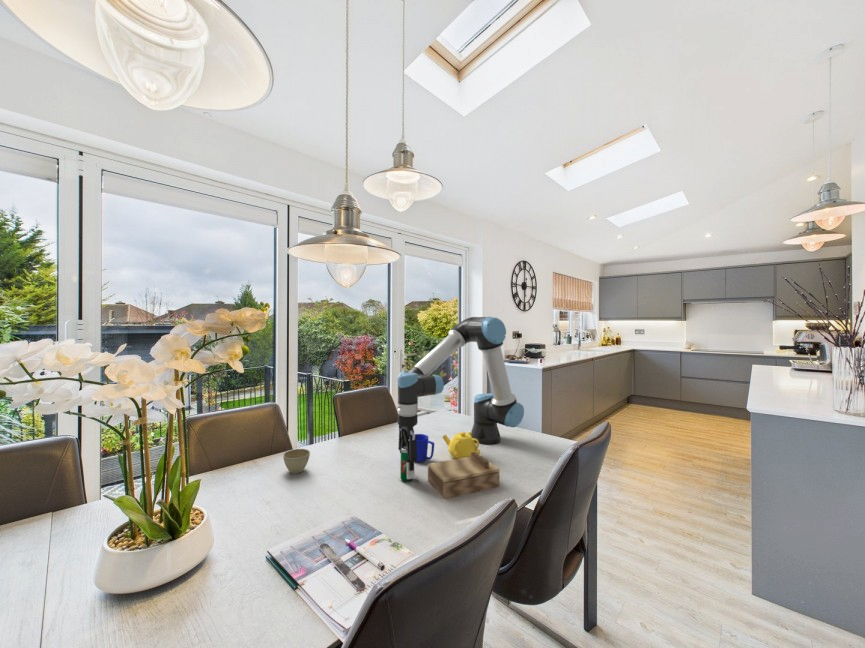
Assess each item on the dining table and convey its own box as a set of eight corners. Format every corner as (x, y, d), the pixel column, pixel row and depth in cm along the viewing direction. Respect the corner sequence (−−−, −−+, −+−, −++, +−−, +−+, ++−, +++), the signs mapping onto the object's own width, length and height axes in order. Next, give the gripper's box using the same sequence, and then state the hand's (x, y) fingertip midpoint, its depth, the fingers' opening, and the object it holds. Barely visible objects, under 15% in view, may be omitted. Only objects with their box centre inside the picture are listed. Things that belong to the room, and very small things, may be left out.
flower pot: (280, 477, 135) (280, 459, 135) (285, 466, 145) (286, 449, 144) (308, 475, 137) (308, 457, 137) (311, 465, 147) (311, 447, 146)
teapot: (470, 449, 165) (470, 426, 165) (483, 460, 153) (483, 435, 152) (441, 453, 161) (441, 429, 161) (452, 465, 148) (452, 438, 148)
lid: (478, 457, 140) (479, 449, 140) (499, 471, 127) (499, 462, 127) (427, 466, 131) (428, 457, 131) (444, 482, 118) (444, 472, 118)
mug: (427, 467, 145) (427, 443, 145) (405, 460, 152) (405, 437, 152) (439, 461, 151) (439, 438, 151) (417, 454, 159) (417, 432, 159)
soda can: (408, 475, 138) (408, 444, 138) (416, 479, 134) (416, 448, 134) (397, 479, 134) (398, 447, 134) (406, 483, 131) (406, 451, 130)
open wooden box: (478, 473, 140) (478, 458, 140) (499, 489, 127) (499, 472, 127) (427, 483, 131) (427, 467, 131) (444, 501, 118) (444, 483, 118)
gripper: (390, 408, 141) (390, 466, 142) (407, 422, 123) (406, 487, 124) (408, 407, 144) (407, 463, 145) (426, 419, 126) (426, 483, 127)
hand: (407, 474), depth 134 cm, fingers open, 7 cm apart
